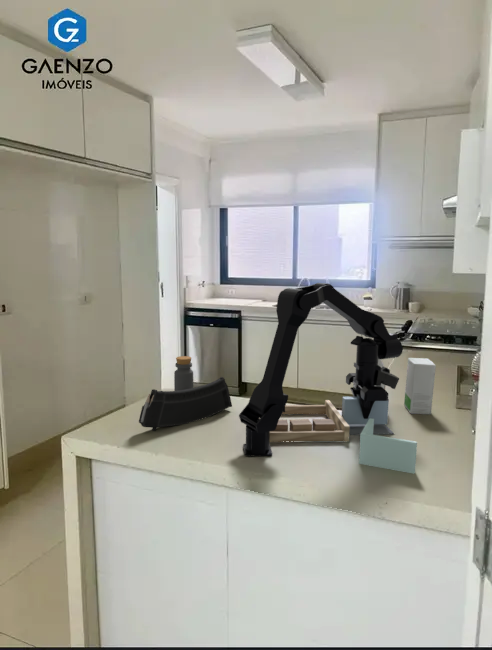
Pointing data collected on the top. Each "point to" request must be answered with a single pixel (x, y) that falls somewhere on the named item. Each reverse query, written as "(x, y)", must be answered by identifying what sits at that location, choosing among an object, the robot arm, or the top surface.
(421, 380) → the skincare box
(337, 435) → the frame
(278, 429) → the offcut
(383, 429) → the mat
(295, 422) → the offcut
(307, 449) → the top surface
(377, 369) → the robot arm
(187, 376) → the bottle
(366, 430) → the l-shaped corner panel
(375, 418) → the light blue rectangular panel
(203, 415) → the magazine
